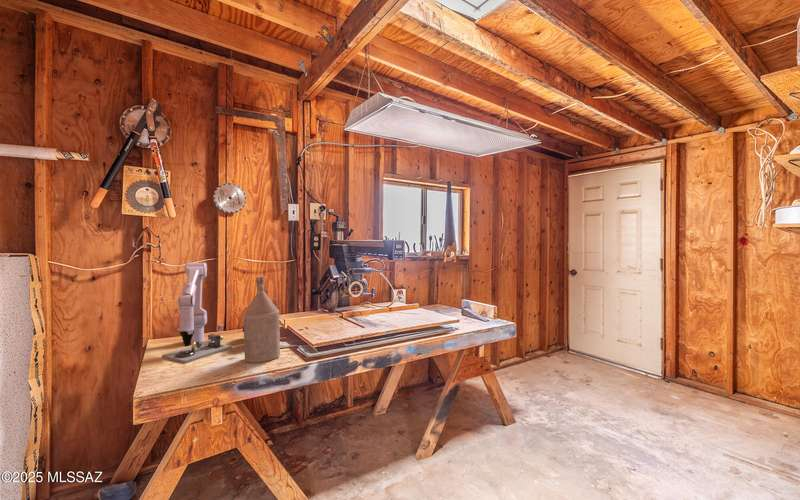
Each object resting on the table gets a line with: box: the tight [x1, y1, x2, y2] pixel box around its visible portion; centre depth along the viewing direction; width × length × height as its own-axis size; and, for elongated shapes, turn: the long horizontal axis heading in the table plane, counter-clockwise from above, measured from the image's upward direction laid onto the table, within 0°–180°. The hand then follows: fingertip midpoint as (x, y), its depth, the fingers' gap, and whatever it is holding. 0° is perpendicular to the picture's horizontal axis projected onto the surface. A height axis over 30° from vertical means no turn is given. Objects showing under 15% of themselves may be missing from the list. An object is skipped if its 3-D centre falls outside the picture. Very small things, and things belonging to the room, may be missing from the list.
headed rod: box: [195, 335, 224, 348], centre depth 173 cm, size 3×14×3 cm, turn 155°
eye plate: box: [205, 333, 224, 349], centre depth 174 cm, size 9×4×6 cm, turn 65°
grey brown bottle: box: [242, 275, 282, 364], centre depth 160 cm, size 13×17×40 cm
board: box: [161, 343, 232, 364], centre depth 168 cm, size 18×24×1 cm
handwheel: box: [175, 342, 196, 357], centre depth 161 cm, size 8×9×5 cm
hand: (187, 345), depth 166 cm, fingers closed
